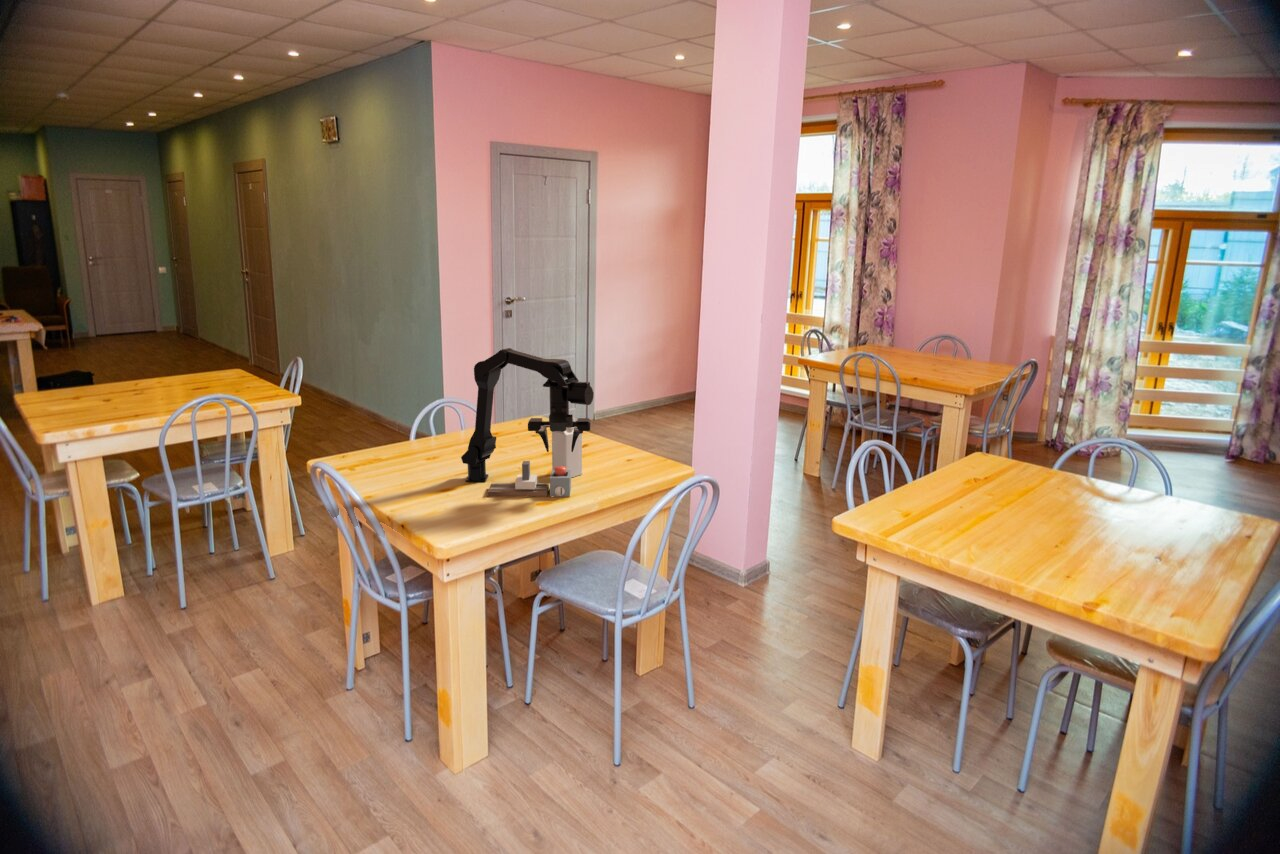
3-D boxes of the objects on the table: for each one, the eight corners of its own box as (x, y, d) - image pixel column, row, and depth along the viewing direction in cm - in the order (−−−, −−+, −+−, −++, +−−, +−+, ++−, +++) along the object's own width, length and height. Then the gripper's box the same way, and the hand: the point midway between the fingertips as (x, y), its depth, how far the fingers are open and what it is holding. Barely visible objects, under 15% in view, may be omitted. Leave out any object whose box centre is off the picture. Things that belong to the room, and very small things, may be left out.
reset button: (555, 475, 236) (555, 466, 236) (566, 475, 237) (566, 466, 236) (554, 478, 233) (554, 469, 232) (566, 478, 233) (565, 469, 232)
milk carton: (552, 474, 253) (551, 419, 249) (568, 470, 258) (567, 415, 254) (566, 479, 249) (565, 423, 244) (582, 474, 254) (582, 419, 249)
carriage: (518, 481, 238) (517, 459, 237) (537, 482, 239) (536, 459, 237) (515, 489, 232) (514, 465, 230) (535, 489, 232) (534, 466, 230)
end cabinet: (552, 488, 240) (551, 470, 238) (571, 488, 240) (570, 470, 239) (549, 497, 232) (549, 478, 230) (569, 497, 232) (569, 478, 230)
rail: (491, 488, 239) (491, 481, 239) (548, 488, 240) (548, 481, 239) (487, 496, 231) (487, 489, 231) (546, 496, 232) (546, 490, 231)
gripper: (525, 407, 221) (526, 459, 225) (589, 407, 221) (589, 459, 225) (529, 399, 232) (530, 449, 235) (590, 399, 232) (590, 449, 236)
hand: (560, 451), depth 233 cm, fingers open, 7 cm apart
